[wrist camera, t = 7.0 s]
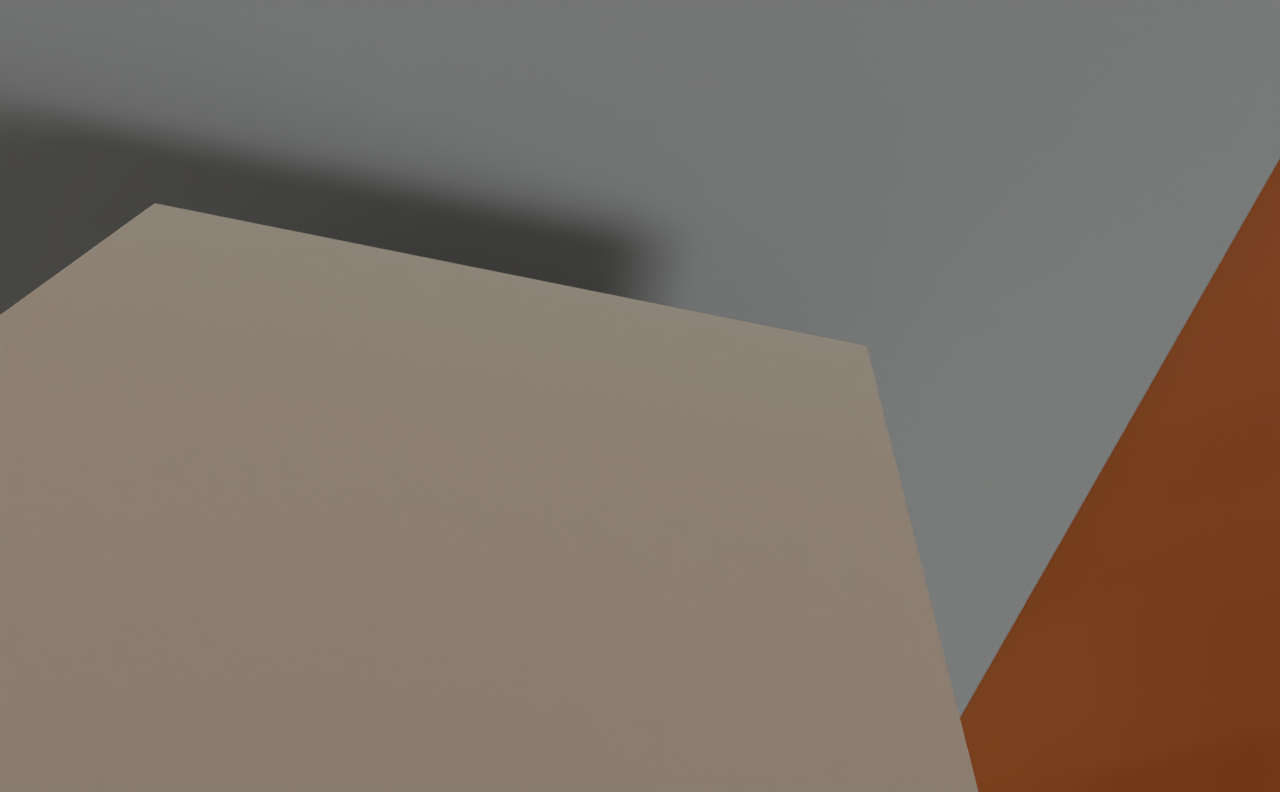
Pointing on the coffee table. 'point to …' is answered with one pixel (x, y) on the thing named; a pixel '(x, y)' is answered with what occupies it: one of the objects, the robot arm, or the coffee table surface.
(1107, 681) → the coffee table surface
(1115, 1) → the mat
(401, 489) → the pink-topped box
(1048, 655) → the coffee table surface
